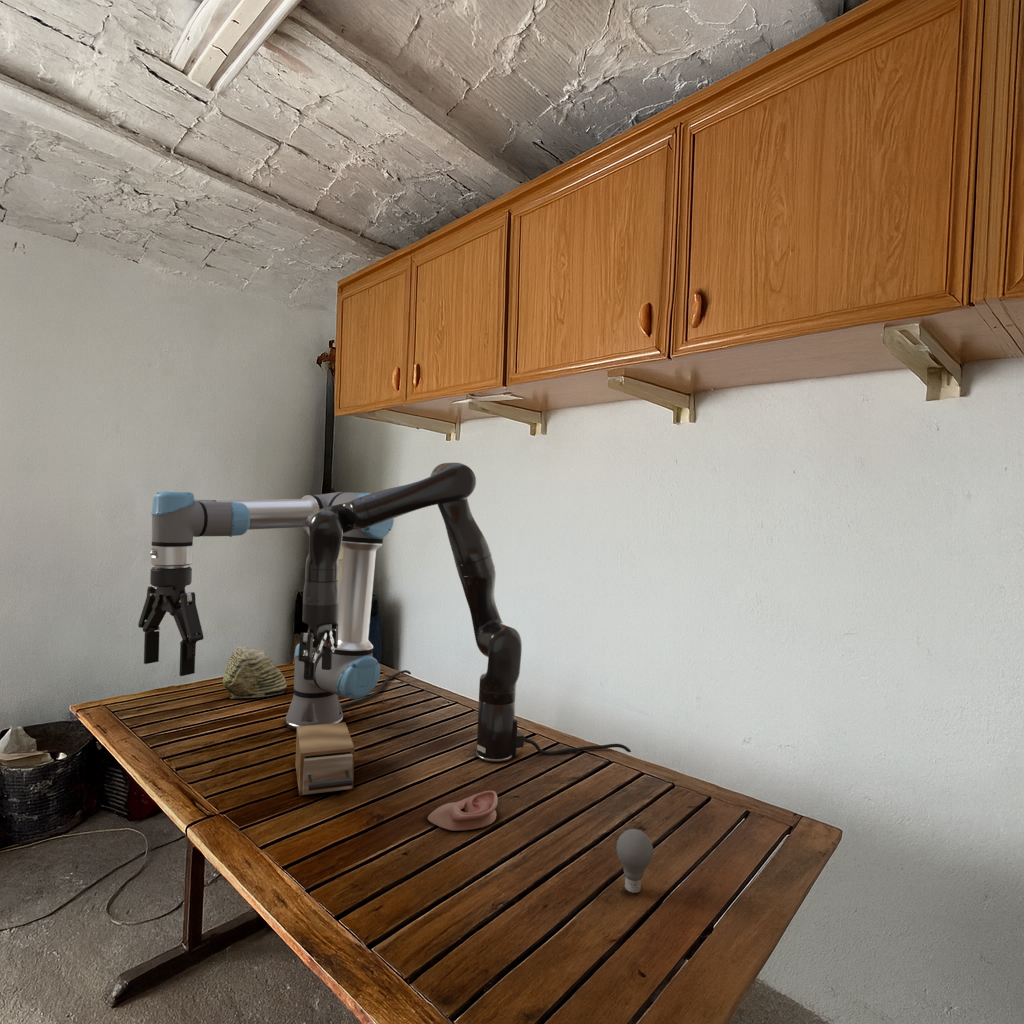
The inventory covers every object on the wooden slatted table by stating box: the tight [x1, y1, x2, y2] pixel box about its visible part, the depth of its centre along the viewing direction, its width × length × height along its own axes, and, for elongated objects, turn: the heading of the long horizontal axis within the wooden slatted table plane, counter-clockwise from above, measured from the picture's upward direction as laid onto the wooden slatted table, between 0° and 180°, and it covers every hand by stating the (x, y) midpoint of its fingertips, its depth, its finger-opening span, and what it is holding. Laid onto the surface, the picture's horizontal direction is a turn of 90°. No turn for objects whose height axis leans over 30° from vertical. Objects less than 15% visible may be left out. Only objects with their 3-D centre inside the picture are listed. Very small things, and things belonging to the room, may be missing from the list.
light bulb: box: [615, 828, 654, 894], centre depth 106 cm, size 6×6×10 cm
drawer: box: [302, 752, 354, 796], centre depth 138 cm, size 21×10×7 cm, turn 22°
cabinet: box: [294, 721, 356, 796], centre depth 143 cm, size 16×11×9 cm
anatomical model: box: [427, 790, 499, 832], centre depth 127 cm, size 13×4×12 cm
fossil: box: [222, 646, 288, 699], centre depth 198 cm, size 9×18×15 cm, turn 132°
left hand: (168, 668), depth 131 cm, fingers open, 13 cm apart
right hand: (318, 674), depth 139 cm, fingers open, 8 cm apart
